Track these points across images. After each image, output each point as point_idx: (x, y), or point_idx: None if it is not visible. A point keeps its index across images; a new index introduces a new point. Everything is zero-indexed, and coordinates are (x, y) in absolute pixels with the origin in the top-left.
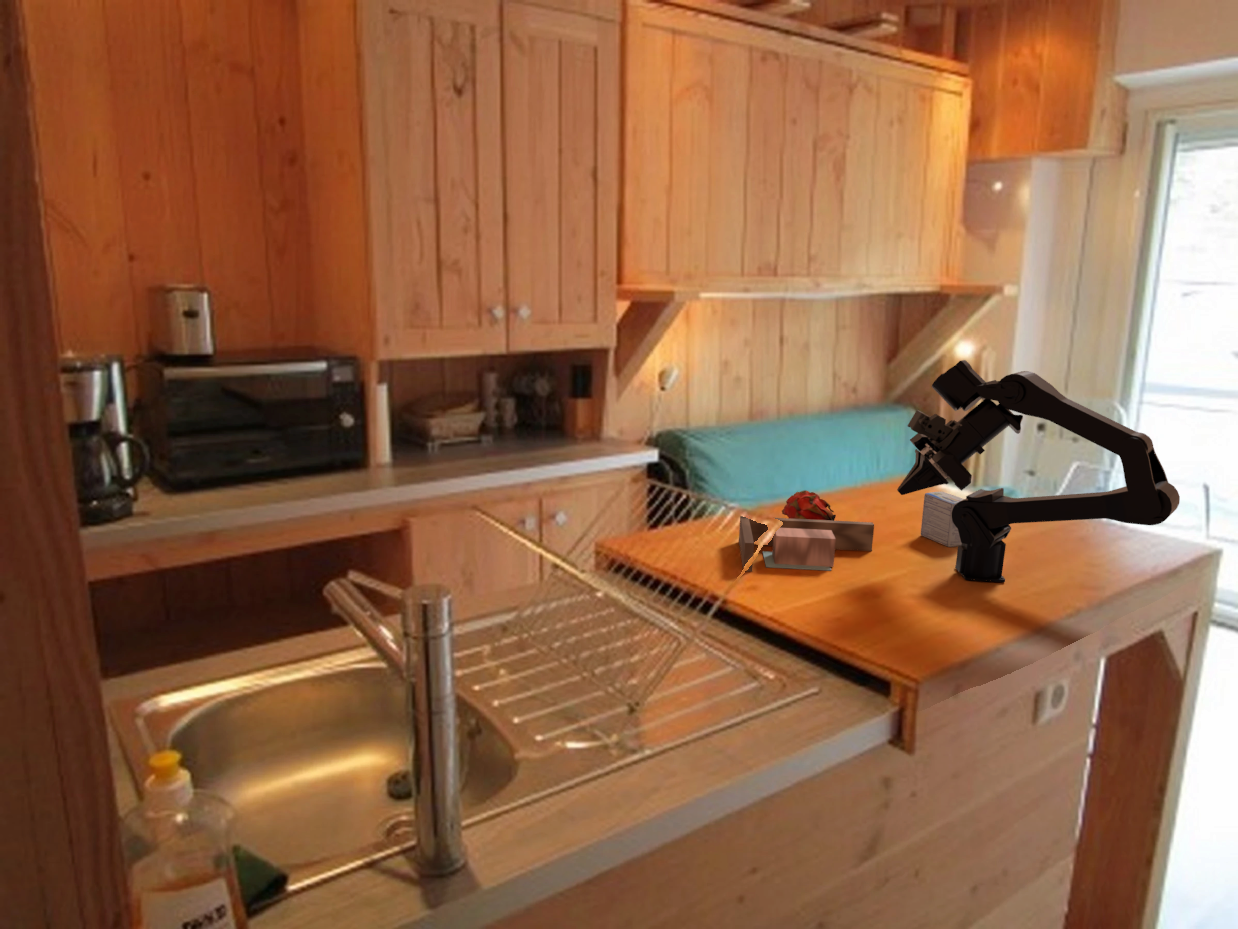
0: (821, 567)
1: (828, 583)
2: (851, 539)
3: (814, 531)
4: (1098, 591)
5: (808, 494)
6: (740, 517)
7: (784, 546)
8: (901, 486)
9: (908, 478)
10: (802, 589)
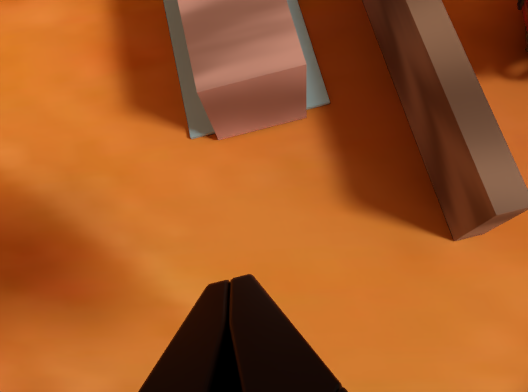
0: (200, 110)
1: (84, 145)
2: (439, 156)
3: (262, 15)
4: None
5: None
6: None
7: None
8: (200, 308)
9: (188, 385)
10: (23, 92)
